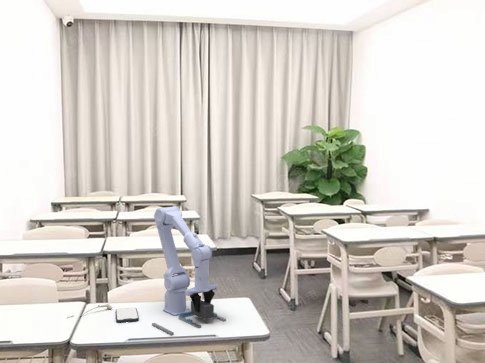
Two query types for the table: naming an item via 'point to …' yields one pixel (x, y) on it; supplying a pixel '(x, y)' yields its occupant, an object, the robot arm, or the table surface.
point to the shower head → (101, 306)
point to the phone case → (127, 315)
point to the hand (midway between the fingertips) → (202, 310)
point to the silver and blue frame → (189, 321)
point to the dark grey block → (203, 310)
